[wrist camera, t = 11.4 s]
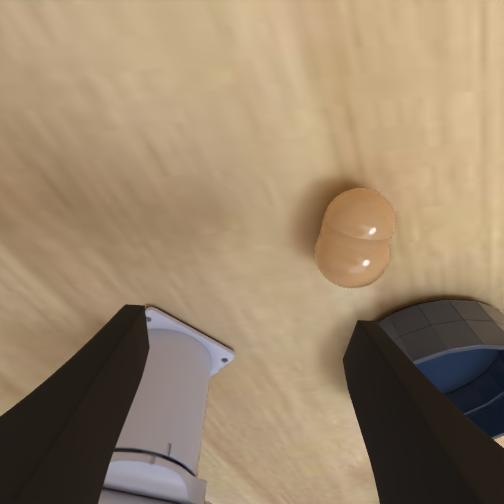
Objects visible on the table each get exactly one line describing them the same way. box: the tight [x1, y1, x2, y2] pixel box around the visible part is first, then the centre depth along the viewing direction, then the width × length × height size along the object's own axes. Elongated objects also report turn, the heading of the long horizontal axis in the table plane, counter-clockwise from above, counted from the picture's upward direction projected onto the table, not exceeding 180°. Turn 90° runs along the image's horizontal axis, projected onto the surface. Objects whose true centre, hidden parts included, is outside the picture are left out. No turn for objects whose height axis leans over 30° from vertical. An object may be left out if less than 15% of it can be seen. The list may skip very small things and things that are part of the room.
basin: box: [377, 300, 504, 440], centre depth 24 cm, size 13×13×4 cm
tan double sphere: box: [314, 188, 396, 289], centre depth 17 cm, size 6×4×4 cm
